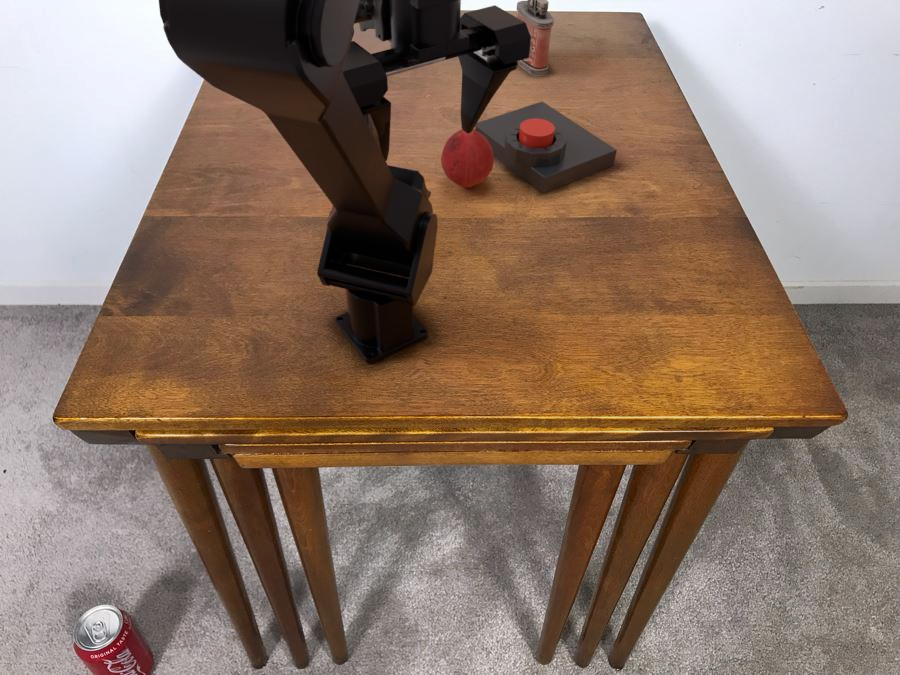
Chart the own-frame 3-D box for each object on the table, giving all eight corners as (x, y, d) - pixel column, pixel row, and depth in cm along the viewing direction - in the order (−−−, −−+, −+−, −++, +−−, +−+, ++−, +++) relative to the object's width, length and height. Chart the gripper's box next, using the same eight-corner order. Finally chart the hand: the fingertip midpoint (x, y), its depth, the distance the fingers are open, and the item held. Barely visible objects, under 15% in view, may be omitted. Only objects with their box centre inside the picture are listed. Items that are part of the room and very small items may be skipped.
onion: (448, 204, 80) (450, 140, 74) (435, 176, 84) (435, 113, 78) (497, 197, 81) (503, 133, 75) (482, 170, 85) (486, 107, 79)
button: (560, 143, 83) (562, 129, 81) (533, 153, 81) (534, 139, 80) (538, 128, 85) (540, 115, 84) (511, 137, 83) (512, 124, 82)
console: (613, 165, 86) (619, 136, 83) (536, 196, 81) (540, 166, 78) (540, 116, 94) (543, 87, 91) (466, 141, 89) (467, 112, 86)
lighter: (552, 73, 103) (561, 1, 96) (531, 77, 102) (539, 4, 95) (528, 50, 108) (535, -20, 101) (507, 53, 107) (513, -17, 100)
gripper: (464, -83, 63) (459, 85, 74) (267, -47, 55) (295, 134, 67) (544, -46, 57) (525, 132, 68) (334, 1, 49) (352, 192, 60)
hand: (425, 144), depth 66 cm, fingers open, 9 cm apart
